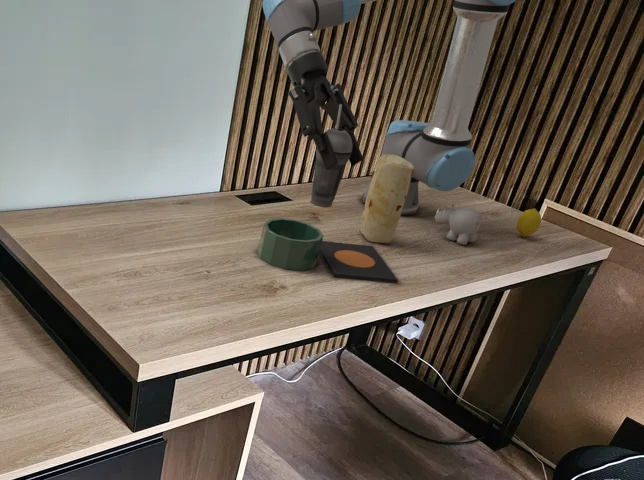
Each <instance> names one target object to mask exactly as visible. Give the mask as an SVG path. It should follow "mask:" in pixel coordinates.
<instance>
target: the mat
mask: <svg viewBox="0 0 644 480" xmlns="http://www.w3.org/2000/svg"><path fill="white" fill-rule="evenodd" d="M319 255H320V256H321V258H322V259H323V261H324V263H325V265H326V266H327V268H328V269H329V272H331V275H332V277H333V278H340V279H352V280H361V281H373V282H381V283H390V284H391V283H393V284H397V283H398V281H399V279H398V278H397V277H396V275H395V274H394V272H393V271H392V270H391V269H390V267H389V266H388V264H387V263H386V262H385V260H384V259H383V258H382V256H381V255H380V254H379V253H378V251H377V250H376V248H375V247H374V246H373V245H367V244H366V245H365V244H355V243H346V242H336V241H327V240H322V244H321V248H320V252H319Z"/></svg>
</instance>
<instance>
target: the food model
mask: <svg viewBox="0 0 644 480" xmlns="http://www.w3.org/2000/svg"><path fill="white" fill-rule="evenodd" d="M374 171H375V172H374V175H372V178H371V181H370V182H371V185H370V188H369V191H368V195H367V198H366V202H365V204H364V207H363V211H362V216H361V224H360V232H361V234H362V235H363V236H364V239H365V240H367V241H369V242H372V243H382V244H389V243H391V242H392V241H393V239H394V235H395V232H396V230H397V227H398V225H399V222H400V219H401V217H402V215H401V212H402V209H403V206H404V203H405V200H406V196H407V193H408V189H409V185H410V181H411V177H412V174H413V171H414V167H413V165H412V164H411V163H410V162H408V161H406V160H405V159H403V158H401V157H399V156H396V155H382V156H381V155H380V157H379V158H378V161H377V164H376V168H375V170H374Z"/></svg>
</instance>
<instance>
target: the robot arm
mask: <svg viewBox="0 0 644 480" xmlns="http://www.w3.org/2000/svg"><path fill="white" fill-rule="evenodd" d="M376 1H378V0H262V4H261V5H262V10H263V14H264V17H265V20H266V23H267V25H268V26H269V29H270V31H271V34H272V36H273V39H274V41H275V44H276V46H277V48H278V52H279V55H280V57H281V60H282V62H283V65H284V67H285V69H286V70H287V75H288V77H289V79H290V82H291V85H292V87H291V89H290V90H289V91H288V96H289V97H290V100H291V101H292V103H293V107H294V110H295V113H296V116H297V120H298V123H299V127H300V130H301V134H302V135H303V136H304V137H306V138H307V140H308V141H309V142H312V141H313V142H314V145H315V147H316V150H318V152H319V153H320V155H321V157H322V160H323V162H324V165H325V167H326V169H330V168H331V167H333V166H334V165H336V164H337V163H338V160H337V158H336V155H335V153H334V150H333V148H332V145H331V143H330V140H329V138H328V135H327V133H326V131H325V132H323V123H322V113H321V109H322V110H323V111H325V113H326V114H327V115H328V116H329V118H330V120H331V121H332V123H333V124H334V125H335V126H336V123H337V117H338V111H339V105H340V104H342V109H341V115H340V121H339V128H340V129H343V130H345V131H346V132H347V133H348V134H349V135H350V137H351V139H352V144H353V145H352V154H351V155H350V158H349V160H348V162H349V164H350V165H351V167H354V166H356V165H357V164H359V163H360V162H362V161H363V160H364V157H363V153H362V152H361V149H360V147H359V142H358V140H357V137H356V135H355V133H354V130H355V129H356V128H358V127H359V123H358V121H357V118H356V116H355V115H354V113H353V110H352V109H351V107H350V105H349V103H348V101H347V99H346V97H345V95H344V92H343V88H342V85H341V83H336V84H335V85H333V84H331V82H330V81H329V80H328V78H327V73H328V70H329V68H328V65H327V62H326V60H325V57H324V55H323V53H322V52H321V48H320V46H319V44H318V42H317V39H316V36H315V32H317V31H320V30H324V29H328V28H332V27H336V26H343V25H344V24H347V23H350V22H352V21H354V20H356V19H357V18H358V16H359V13H360V11H361V5H362V4H367V3H372V2H376ZM515 2H517V0H454V1H453V4H452V5H453V6H452V9H453V11H454V12H455V14H456V17H457V18H456V22H455V25H454V30H453V34H452V38H451V43H450V47H449V51H448V54H447V58H446V63H445V68H444V69H443V70H444V71H443V74H442V79H441V83H440V87H439V90H438V95H437V99H436V103H435V106H434V111H433V115H432V119H431V122H430V123H429V122H422V121H417V120H415V121H414V120H404V119H397V120H394V121H392V122H391V123H389V128H388V129H387V130H388V131H387V132H386V134H385V139H384V142H383V146H382V150H381V153H380V157H381V156H382V155H396V156H399V157H401V158H403V159H405V160H406V161H408V162H410V163H411V164H412V165H413V167H414V171H413V174H412V177H411V181H410V185H409V189H408V193H407V196H406V200H405V203H404V206H403V209H402V212H401V216H411V215H414V214H416V213H417V211H418V208H419V184H420V182H421V183H423V184H424V185H426V186H427V187H428V188H431V189H435V190H437V191H440V192H449V191H450V192H451V191H453V190H455V189H457V188H458V187H460V186H461V185H462V184H464V183H466V181H467V180H468V179H469V177H470V176H471V175H472V173H473V171H474V169H475V166H476V161H477V160H476V156H475V153H474V151H473V150H472V149H471V147H470V145H471V143H472V140H473V139H472V138H473V134H472V133H471V132H470V130H469V125H470V121H471V118H472V115H473V111H474V107H475V103H476V100H477V96H478V92H479V89H480V85H481V82H482V78H483V75H484V71H485V68H486V65H487V61H488V57H489V54H490V50H491V46H492V42H493V39H494V36H495V31H496V28H497V24H498V21H499V20H500V19H501V18H503V17H504V16H506V15H507V14H508V11H509V8H510V5H512V4H513V3H515ZM374 172H375V170H373V171H372V172H371V175H372V176H373V175H374ZM370 185H371V181H369V184H367V187H366V188H365V190H364V191H363V192H362V197H361V202H362V203H363V204H364V205H365V202H366V198H367V195H368V191H369V188H370Z"/></svg>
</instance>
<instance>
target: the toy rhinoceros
mask: <svg viewBox="0 0 644 480" xmlns="http://www.w3.org/2000/svg"><path fill="white" fill-rule="evenodd" d="M434 221H435V222H436V223H437V224H445V225H449V231H448V232H447V234H446V239H447V240H448V241H453V242H455V241H456V244H458V245H463V246H466V245H467V244H468V243H475V242H476V241H477V236H478V235H477V232H478V230H479V228H480V226H481V222H482V221H481V216H480V214H479V212H477V211H476V209H473V208H471V207H461V208H459V209H457V210H456V209H455V204H452V205H451V206H450V207H448V205H444V209H442V210H441V209H440V207H438V209H436V214H435V215H434Z"/></svg>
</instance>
